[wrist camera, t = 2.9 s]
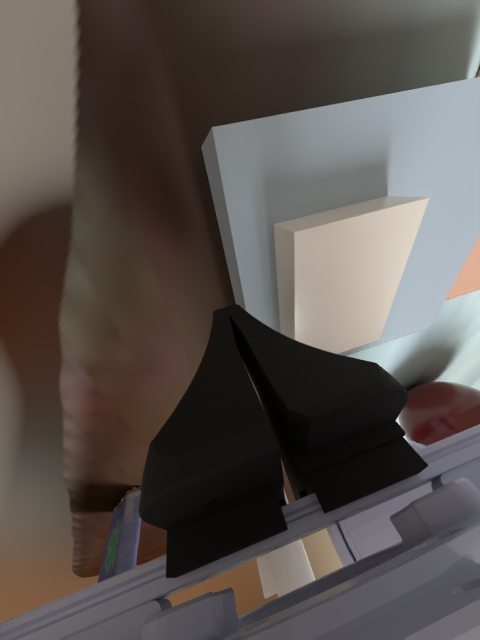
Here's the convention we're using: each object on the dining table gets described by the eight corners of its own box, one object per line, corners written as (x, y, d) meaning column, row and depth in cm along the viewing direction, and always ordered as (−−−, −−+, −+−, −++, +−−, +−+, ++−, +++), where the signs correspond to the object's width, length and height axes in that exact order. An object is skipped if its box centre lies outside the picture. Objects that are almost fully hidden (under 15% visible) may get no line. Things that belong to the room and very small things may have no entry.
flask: (130, 486, 28) (109, 617, 19) (151, 484, 29) (140, 606, 21) (109, 512, 31) (83, 635, 23) (129, 510, 33) (111, 624, 24)
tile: (357, 322, 14) (379, 339, 13) (281, 346, 14) (294, 368, 12) (387, 195, 10) (429, 197, 8) (273, 224, 9) (294, 232, 7)
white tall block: (257, 478, 40) (308, 671, 24) (286, 472, 43) (349, 642, 27) (240, 499, 46) (274, 668, 30) (267, 493, 48) (311, 644, 32)
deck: (390, 305, 20) (429, 327, 17) (246, 351, 19) (260, 385, 15) (463, 94, 11) (574, 59, 8) (201, 147, 10) (211, 127, 7)
